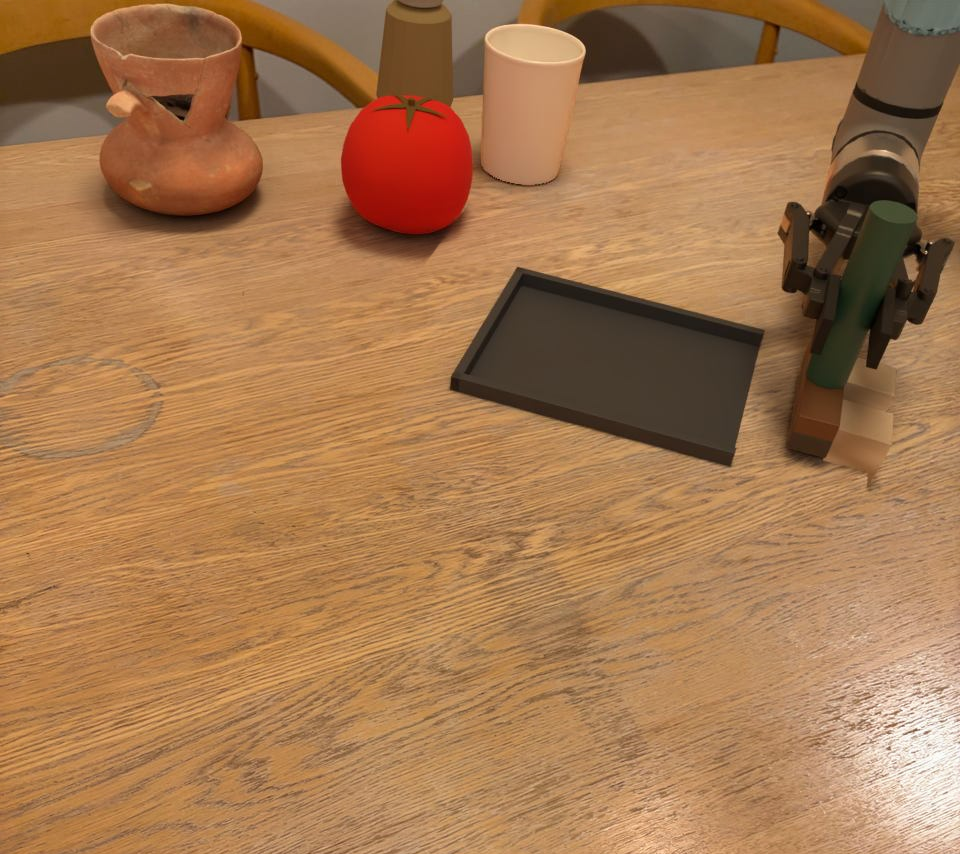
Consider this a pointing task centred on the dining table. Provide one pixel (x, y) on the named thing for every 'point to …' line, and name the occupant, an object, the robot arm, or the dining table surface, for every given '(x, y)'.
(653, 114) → the dining table surface
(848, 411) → the cube
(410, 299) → the dining table surface
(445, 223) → the tomato
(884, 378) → the cube
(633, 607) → the dining table surface
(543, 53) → the pink cup
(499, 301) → the tray
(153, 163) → the ceramic jug
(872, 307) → the brush
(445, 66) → the squeeze bottle
